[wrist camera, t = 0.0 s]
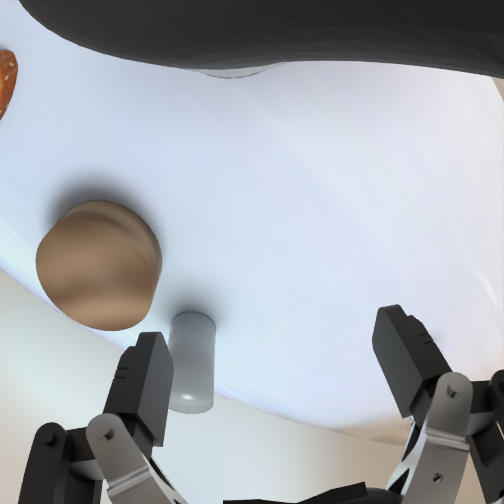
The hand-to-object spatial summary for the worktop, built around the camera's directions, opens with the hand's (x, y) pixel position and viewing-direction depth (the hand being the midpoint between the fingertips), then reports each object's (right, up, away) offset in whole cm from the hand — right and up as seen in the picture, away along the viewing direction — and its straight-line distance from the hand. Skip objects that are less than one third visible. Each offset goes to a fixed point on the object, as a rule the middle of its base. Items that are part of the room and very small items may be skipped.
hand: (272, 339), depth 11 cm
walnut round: (-16, +3, +18) cm, 24 cm away
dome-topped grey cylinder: (-8, -6, +24) cm, 25 cm away
